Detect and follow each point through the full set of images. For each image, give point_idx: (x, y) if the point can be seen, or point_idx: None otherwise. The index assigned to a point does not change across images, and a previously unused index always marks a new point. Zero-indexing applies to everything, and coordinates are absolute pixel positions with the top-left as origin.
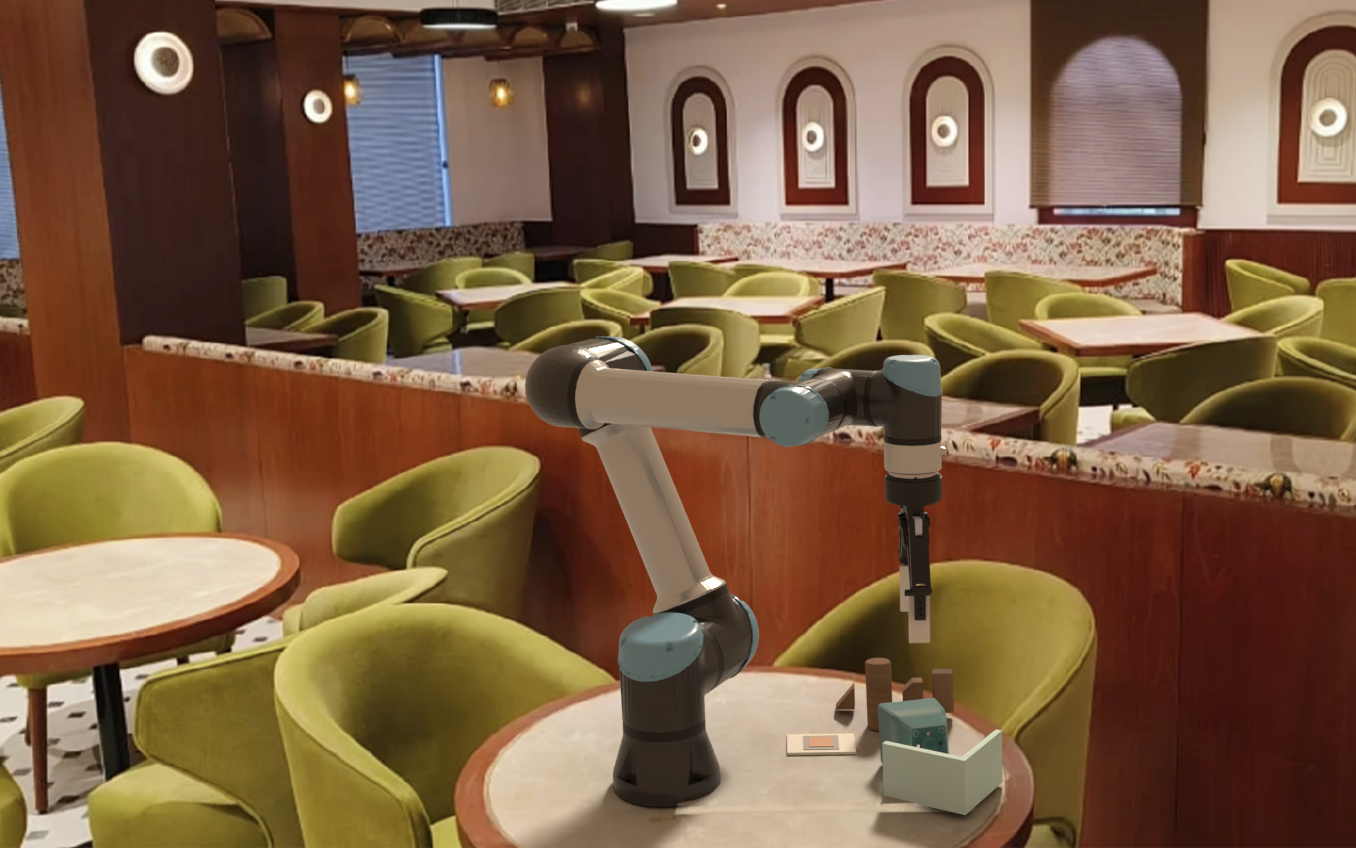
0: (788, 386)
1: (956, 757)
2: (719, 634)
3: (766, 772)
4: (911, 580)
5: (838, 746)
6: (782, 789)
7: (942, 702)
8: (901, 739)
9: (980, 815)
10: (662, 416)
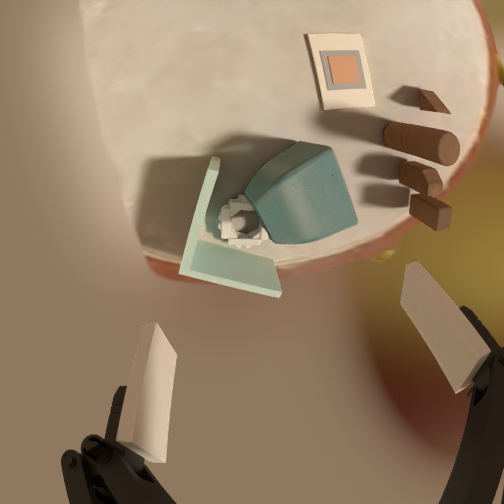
0: None
1: (185, 264)
2: None
3: (252, 19)
4: (69, 487)
5: (335, 89)
6: (205, 44)
7: (416, 207)
8: (261, 182)
9: None
10: None
